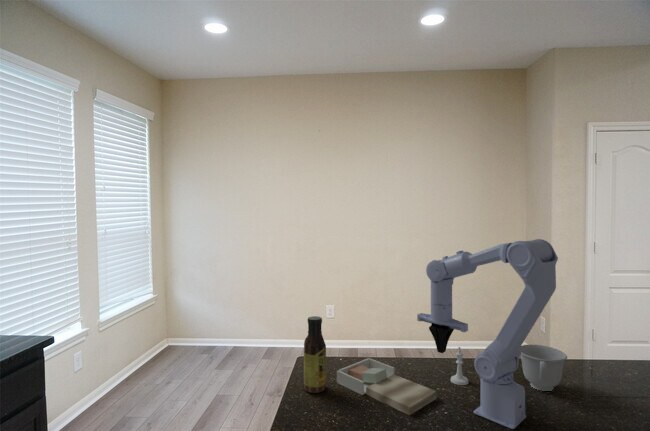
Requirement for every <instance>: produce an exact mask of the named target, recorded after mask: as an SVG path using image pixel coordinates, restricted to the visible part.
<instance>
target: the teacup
mask: <svg viewBox="0 0 650 431" xmlns="http://www.w3.org/2000/svg"><path fill="white" fill-rule="evenodd" d="M519 350H520V351H521V355H520V358H521V367H522V372H523V376H524V377H525V379H526V380H527V381H529V383H530V384H529V385H531V386H530V387H531V388H532V387H533V388H532V389H534V388H535V389H537V390H536V391H538V390H542V391H552V390H553V389H554V390H555V388H554V387H556V386H559V384H560V383H561V381H562V377H563V371H564V364H565V361H566V360H567V359H568V355H567V354H566V353H565V352H563V351H562V350H560V349H557V348H554V347H552V346H547V345H543V344H542V345H541V344H524V345H523V344H522V345H521V347H520V348H519ZM535 389H534V390H535ZM554 390H553V391H554ZM542 391H541V392H542ZM553 391H552V392H553Z"/></svg>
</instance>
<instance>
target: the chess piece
mask: <svg viewBox="0 0 650 431" xmlns="http://www.w3.org/2000/svg"><path fill="white" fill-rule="evenodd" d="M457 350H458V352H456V353H455V356H456V359H457V360H456V361H455V363H456V364H457V369H456V374H454V375H452V376H451V377H450V382H451V383H453V384H455V385H458V386H466V385H468V384H469V379H468V378H467V377H466V376H464V374H463V370H462V369H463V368H462V365H463V364H464V361H463V357H464V353H462V350H461V347H460V346H458V348H457Z"/></svg>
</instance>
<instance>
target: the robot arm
mask: <svg viewBox="0 0 650 431" xmlns="http://www.w3.org/2000/svg"><path fill="white" fill-rule="evenodd" d="M558 260H559V257H558V255H557V253H556V251H555V249H554V247H553V245H552V244H551V243H550V242H549V241H547V240H545V239H541V238H540V239H539V238H537V239H533V240H532V239H531V240H525V241H524V240H516V241H513V242H507V243H501V244H497V245H495V246H493V247H488V248H486V249H483V250H481V251H478V252H475V253H471V252H469V251H464V250H459V251H458V250H457V251H456V252H455V255H452V256H448V255H445V256H442V259H438V260H437V259H434V260H432V261H430V262H429V263H428V264H427V265H426V270H425V271H426V275H427V277H428V279H429V280H430V314H428V313H422V312H421V313H417V316H416V317H417V319H416V320H417V322H424V323H428V324H430V326H429V327H428V330H429V332H430V334H431V335H432V338H433V341H434V342H435V347H436V351H437V353H440V354H444V353H446V350H447V348H448V347H447V346H448V343H449V339H450V337H451V335H452V333H453V332H454V330H456V331H460V332H462V333H466V332H468V331H469V324H468V323H465V322H463V321H460V320H457V319H455V318H453V285H454V280H455V278H459V277H462V276H463V277H464V276H466V275H469V274H473V273H475V272H476V270H477V268H478V267H479V266H483V265H487V264H492V263H495V262H499V261H501V262H503V263H504V264H508V263H509V265H510V266H511V267H512V269H513V270H514V271H515V272H516V273H517V275H518V276H519V278H520V279H521V280H522V281H523V283H524V288H523V290H522V292H521V294H520V296H519V297H518V298H517V301H516V303H515V304H514V306H513V308H512V310H511V311H510V313H509V314H508V317H507V318H506V320H505V322H504V324H503V326H502V327H501V329H500V331H499V332H498V334H497V335H496V338H495V339H494V340H493V341H492V342H491V343H490V344H489V345H487V347H485V349H484V351H483V352H482V353H481V352H480V353H479V354H477V355H476V357H475V358H474V361H473V362H474V364H473V365H474V369H475V372H476V373H477V375H478V377H479V379H480V383H479V384H480V387H479V388H480V393H479V394H480V396H479V397H480V405H479V406H478V407H476V409H474V410H473V414H474V415H477V416H480V417H482V418H484V419H487V420H489V421H492V422H494V423H497V424H499V425H501V426H503V427H506V428H508V429H510V430H514V429H516V428H517V427H518V426H519V425H520V424H521V423H522V422H523V421H524V420H525V419H526V418H527V414H526V390H525V387H524V386H523V385H521V384H519V383H517V382H516V381H514V372H516V370H518V367H519V358H520V357H521V351H520V350H519V348H520V347H521V346H523V344H524V342H525V340H526V339H527V338H528V335H529V334H530V332H531V330H532V329H533V327H534V326H535V323H536V322H537V320H538V319H539V317H540V316H541V314H542V312H543V311H544V310H545V308H546V306H547V304H548V302H549V301H550V300H551V298H552V296H553V294H554V293H555V291H556V289H557V276H556V274H557V271H556V268H557V267H556V265H557V262H558Z"/></svg>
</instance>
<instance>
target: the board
mask: <svg viewBox="0 0 650 431" xmlns="http://www.w3.org/2000/svg"><path fill="white" fill-rule="evenodd" d="M366 396H368V397H370V398H373V399H375V400H376V401H379V402H381V403H382V404H384V405H387V406H389V407H392V408H393V409H395V410H396V411H399V412H402V413H403V414H406V415H407V416H411V415H413V414H414V413H416V412H417V411H419V410H421V409H422V408H424V407H425V406H427V405H429V404H430V403H431V402H433V401H435V400H436V399H437V390H435V389H432V388H430V387H427V386H424V385H422V384H419V383H416V382H414V381H412V380H409V379H406V378H403V377H401V376H399V375H396V374H395V373H394V374H393V375H391V376H389V377H387V378H386V379H384V380H382V381H380V382H378V383H374V384H372V385H370V386H368V387H366Z"/></svg>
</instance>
